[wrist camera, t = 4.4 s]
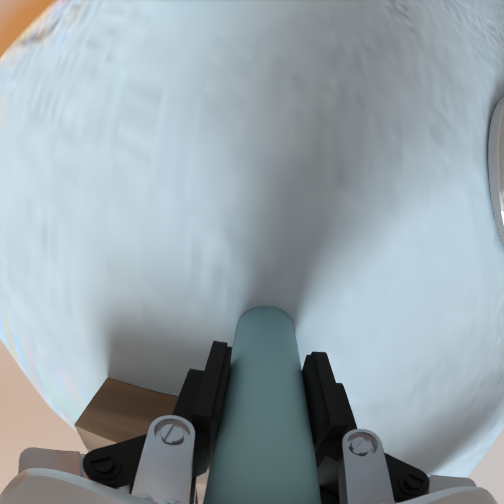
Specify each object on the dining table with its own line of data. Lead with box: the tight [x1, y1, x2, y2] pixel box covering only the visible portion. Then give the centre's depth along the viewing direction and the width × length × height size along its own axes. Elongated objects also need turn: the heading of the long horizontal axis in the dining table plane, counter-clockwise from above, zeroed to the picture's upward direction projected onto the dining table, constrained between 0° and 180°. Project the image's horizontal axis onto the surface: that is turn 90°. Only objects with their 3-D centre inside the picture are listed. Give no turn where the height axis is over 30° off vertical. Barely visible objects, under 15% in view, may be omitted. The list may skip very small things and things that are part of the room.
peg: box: [203, 306, 321, 504], centre depth 8 cm, size 3×3×12 cm
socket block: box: [75, 378, 211, 504], centre depth 14 cm, size 10×10×5 cm
